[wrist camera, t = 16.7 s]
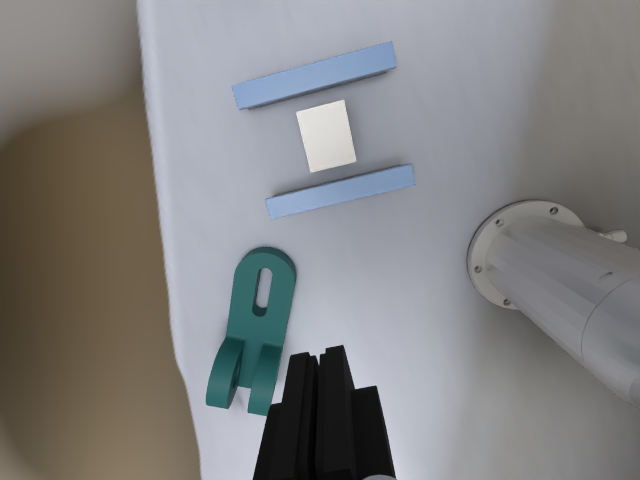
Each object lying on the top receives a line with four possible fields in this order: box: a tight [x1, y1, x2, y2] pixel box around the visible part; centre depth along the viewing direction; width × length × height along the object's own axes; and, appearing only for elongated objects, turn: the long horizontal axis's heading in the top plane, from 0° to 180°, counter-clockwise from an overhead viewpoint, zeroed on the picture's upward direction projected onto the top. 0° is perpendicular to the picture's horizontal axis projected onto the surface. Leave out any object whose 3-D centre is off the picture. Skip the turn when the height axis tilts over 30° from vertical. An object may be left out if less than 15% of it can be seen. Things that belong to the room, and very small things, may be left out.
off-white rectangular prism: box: [296, 100, 357, 173], centre depth 31 cm, size 4×5×7 cm
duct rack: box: [231, 41, 415, 219], centre depth 29 cm, size 14×33×4 cm, turn 14°
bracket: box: [206, 247, 296, 416], centre depth 37 cm, size 18×7×8 cm, turn 169°
